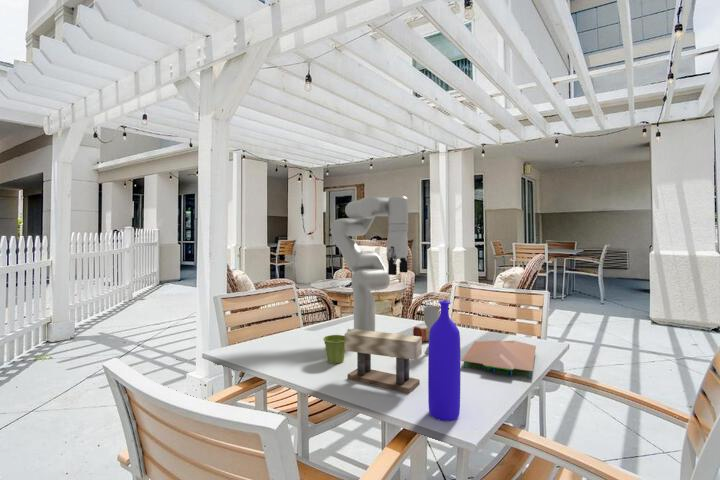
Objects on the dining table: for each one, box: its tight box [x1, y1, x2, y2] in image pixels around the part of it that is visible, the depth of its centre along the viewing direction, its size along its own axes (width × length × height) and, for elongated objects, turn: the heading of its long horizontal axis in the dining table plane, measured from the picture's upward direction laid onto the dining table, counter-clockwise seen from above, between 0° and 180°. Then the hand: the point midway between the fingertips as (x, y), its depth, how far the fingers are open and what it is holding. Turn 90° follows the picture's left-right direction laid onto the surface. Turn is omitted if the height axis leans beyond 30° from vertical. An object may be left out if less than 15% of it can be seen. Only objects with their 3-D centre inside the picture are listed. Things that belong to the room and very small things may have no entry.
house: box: [460, 340, 537, 379], centre depth 141 cm, size 23×33×8 cm
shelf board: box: [344, 328, 423, 361], centre depth 122 cm, size 24×6×6 cm, turn 67°
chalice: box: [422, 305, 441, 355], centre depth 151 cm, size 7×7×18 cm
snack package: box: [412, 324, 430, 343], centre depth 172 cm, size 21×7×7 cm, turn 120°
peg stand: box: [347, 352, 421, 394], centre depth 122 cm, size 22×8×10 cm, turn 59°
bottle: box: [427, 299, 462, 422], centre depth 100 cm, size 8×8×30 cm
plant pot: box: [322, 334, 346, 365], centre depth 141 cm, size 9×9×9 cm
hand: (398, 273), depth 145 cm, fingers open, 9 cm apart
